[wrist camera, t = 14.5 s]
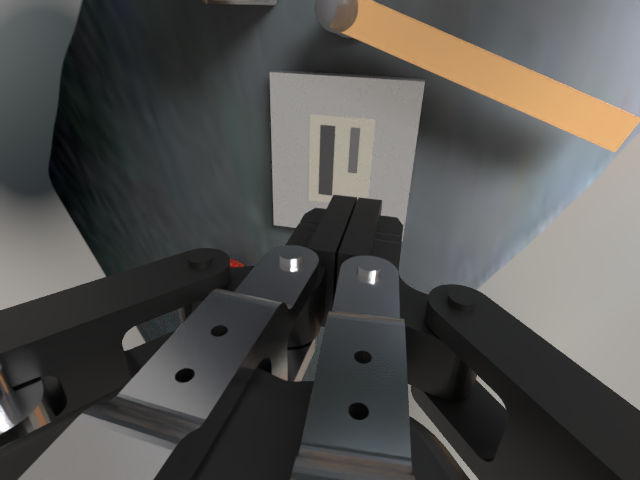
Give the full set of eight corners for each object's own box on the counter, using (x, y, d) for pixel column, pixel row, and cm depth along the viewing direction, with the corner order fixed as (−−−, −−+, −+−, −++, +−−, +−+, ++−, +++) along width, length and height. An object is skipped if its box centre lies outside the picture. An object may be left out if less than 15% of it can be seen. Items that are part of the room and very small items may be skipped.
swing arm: (317, 22, 38) (309, 22, 35) (331, -22, 36) (324, -25, 33) (599, 145, 38) (612, 155, 35) (628, 107, 36) (644, 115, 33)
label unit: (275, 69, 46) (268, 72, 44) (425, 78, 43) (425, 81, 41) (278, 218, 54) (273, 226, 52) (403, 234, 51) (402, 242, 49)
